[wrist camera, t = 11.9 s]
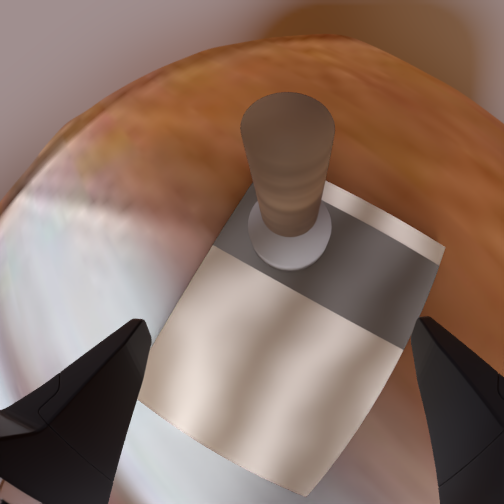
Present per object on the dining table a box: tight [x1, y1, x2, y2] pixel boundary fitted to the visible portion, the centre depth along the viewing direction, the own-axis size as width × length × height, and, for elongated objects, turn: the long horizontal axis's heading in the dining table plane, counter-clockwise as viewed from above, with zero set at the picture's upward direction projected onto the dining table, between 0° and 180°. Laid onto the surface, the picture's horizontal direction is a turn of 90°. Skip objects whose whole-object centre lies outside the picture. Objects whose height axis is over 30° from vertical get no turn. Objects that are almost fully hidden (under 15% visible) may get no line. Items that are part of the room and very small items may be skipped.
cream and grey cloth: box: [137, 181, 445, 497], centre depth 21 cm, size 16×22×1 cm
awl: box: [240, 92, 335, 272], centre depth 16 cm, size 6×6×12 cm
